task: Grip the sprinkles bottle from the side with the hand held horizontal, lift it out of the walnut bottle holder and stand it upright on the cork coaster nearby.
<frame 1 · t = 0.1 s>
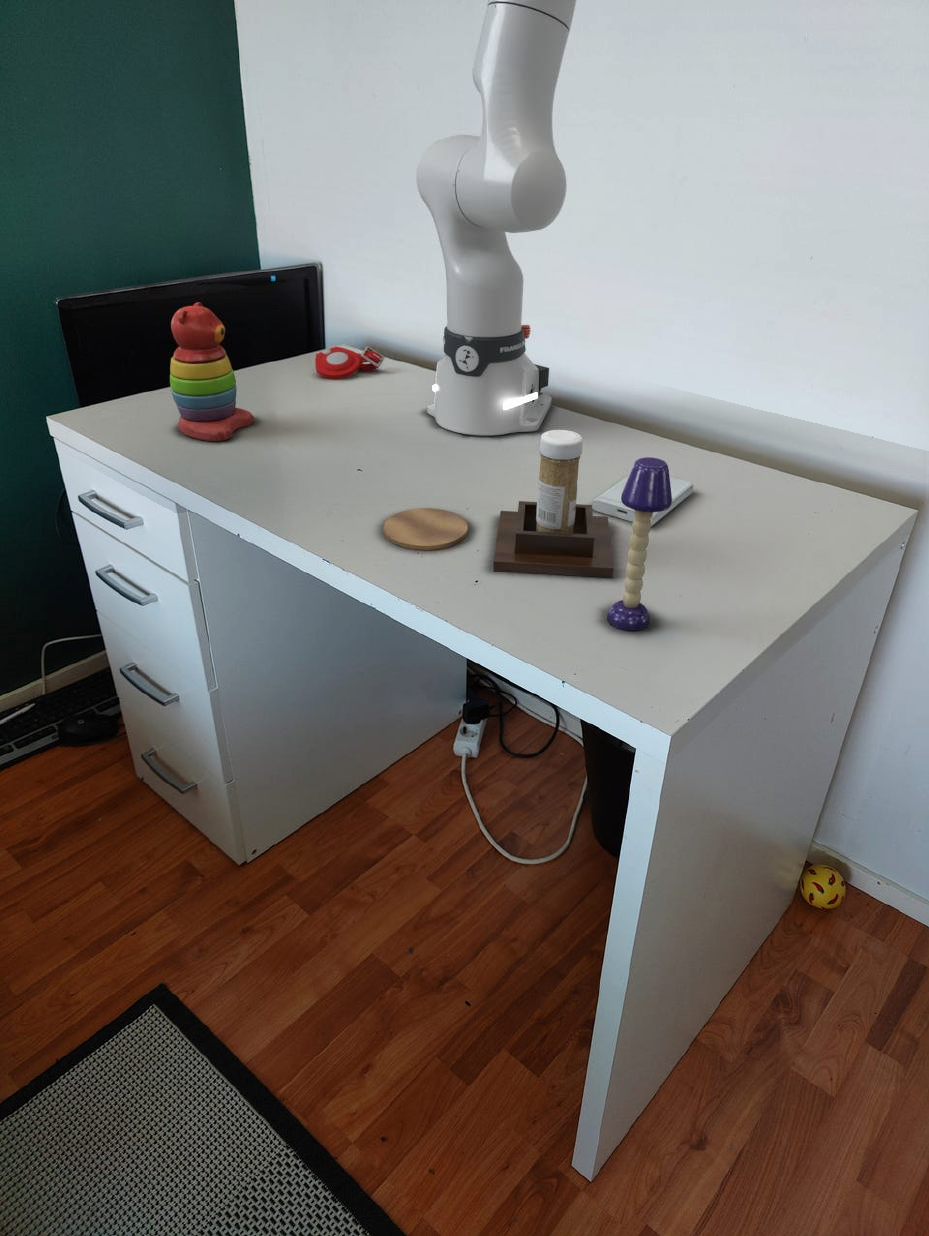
toy lamp: (629, 620, 87), on the table
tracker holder: (348, 373, 156), on the table
holder: (552, 546, 100), on the table
sprinkles bottle: (552, 548, 100), resting in holder
coaster: (425, 530, 103), on the table
hard drive: (642, 503, 111), on the table
stacking bear: (212, 428, 131), on the table
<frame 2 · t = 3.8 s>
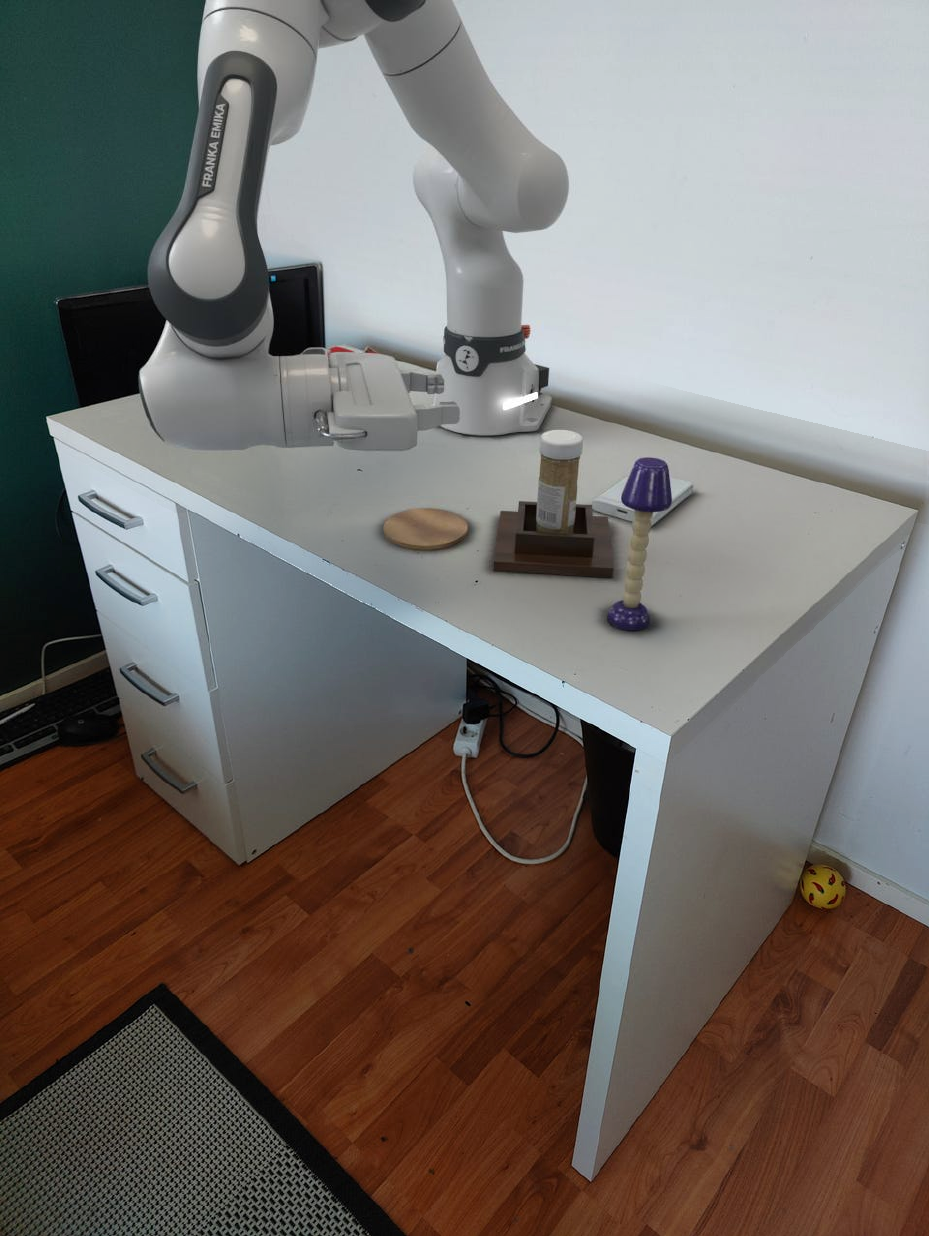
hand: (450, 397, 88), 18 cm above the table, tool horizontal, fingers open, 8 cm apart
nothing on the table moved.
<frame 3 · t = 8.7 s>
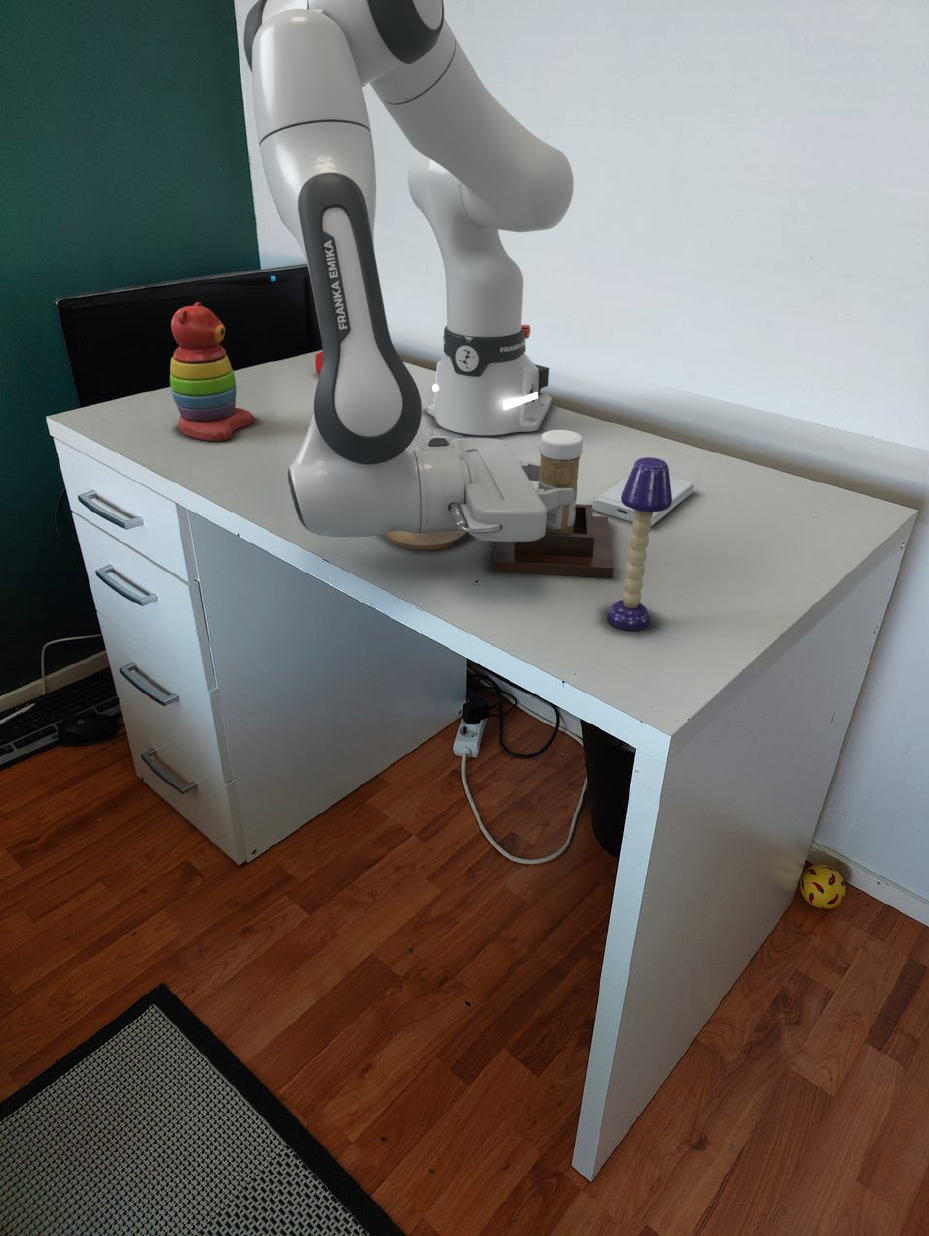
hand: (565, 483, 96), 8 cm above the table, tool horizontal, fingers closed on sprinkles bottle, 4 cm apart
sprinkles bottle: (552, 548, 100), resting in holder, touching gripper
everything else where it was.
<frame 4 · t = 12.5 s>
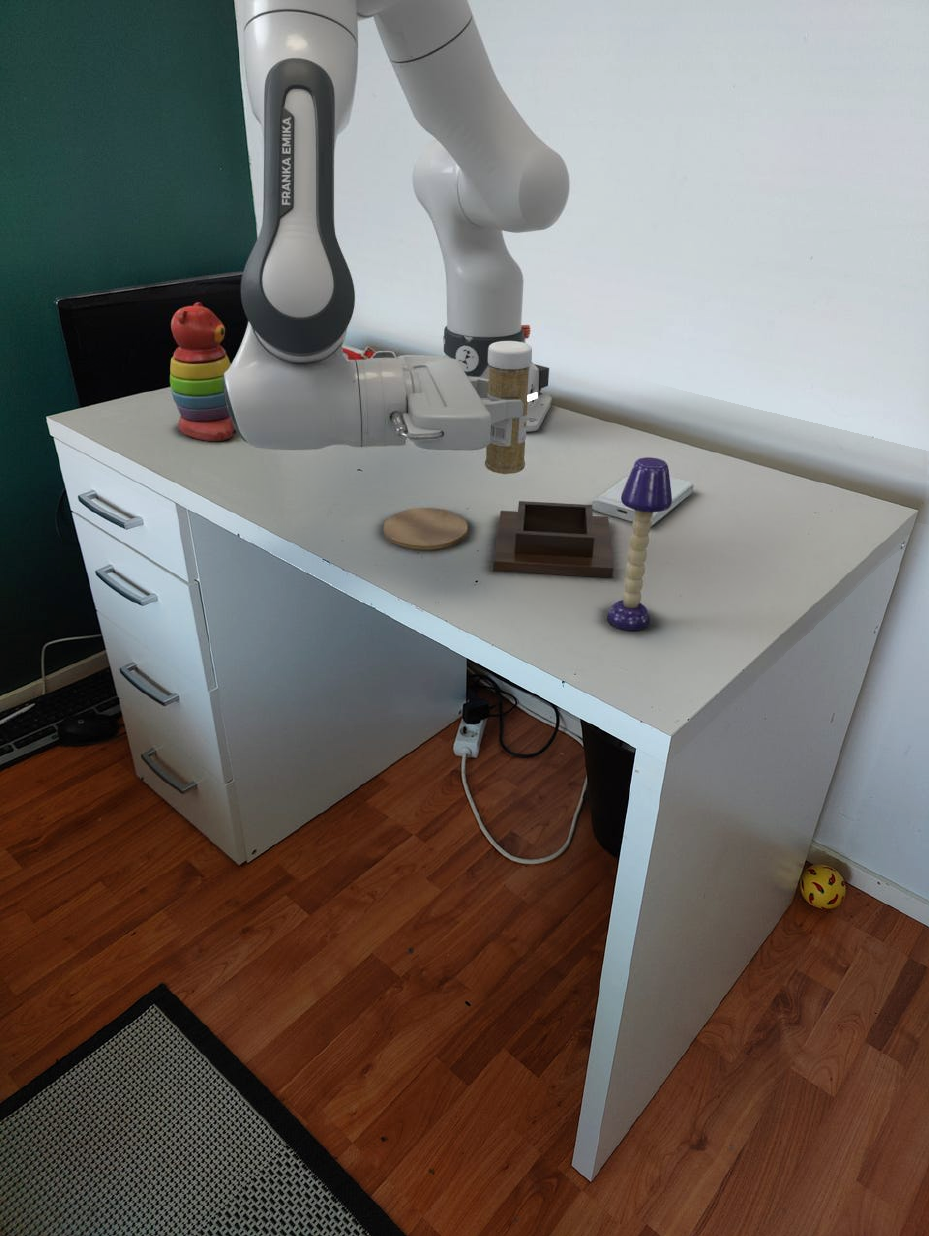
hand: (515, 398, 92), 17 cm above the table, tool horizontal, fingers closed on sprinkles bottle, 4 cm apart
sprinkles bottle: (504, 469, 96), point 9 cm above the table, touching gripper
everything else where it was.
when the fingers open (8 cm above the table, at t = 16.7 s): sprinkles bottle stays where it is, resting on coaster.
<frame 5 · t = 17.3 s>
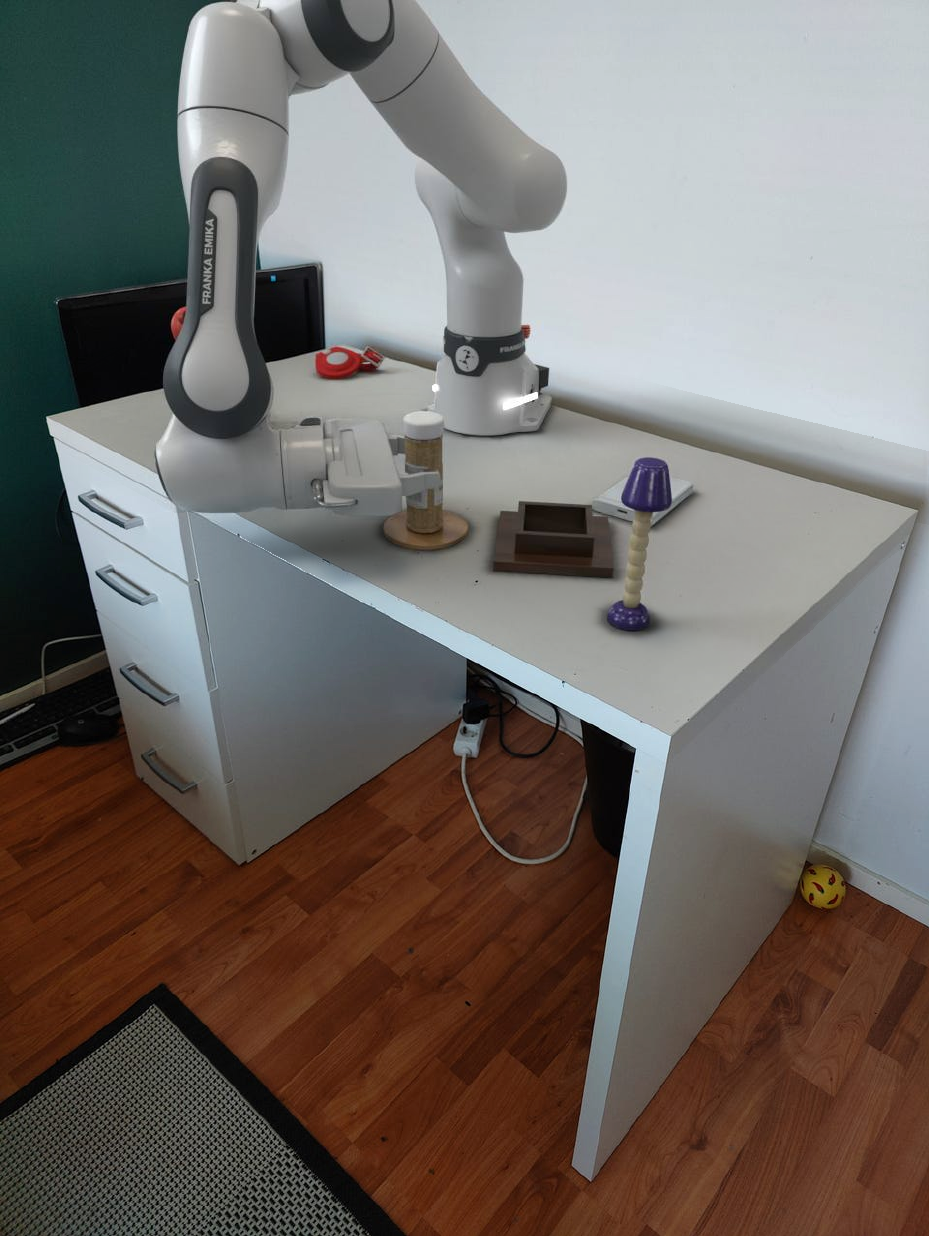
hand: (433, 461, 98), 9 cm above the table, tool horizontal, fingers open, 8 cm apart
sprinkles bottle: (424, 527, 102), resting on coaster
everything else where it was.
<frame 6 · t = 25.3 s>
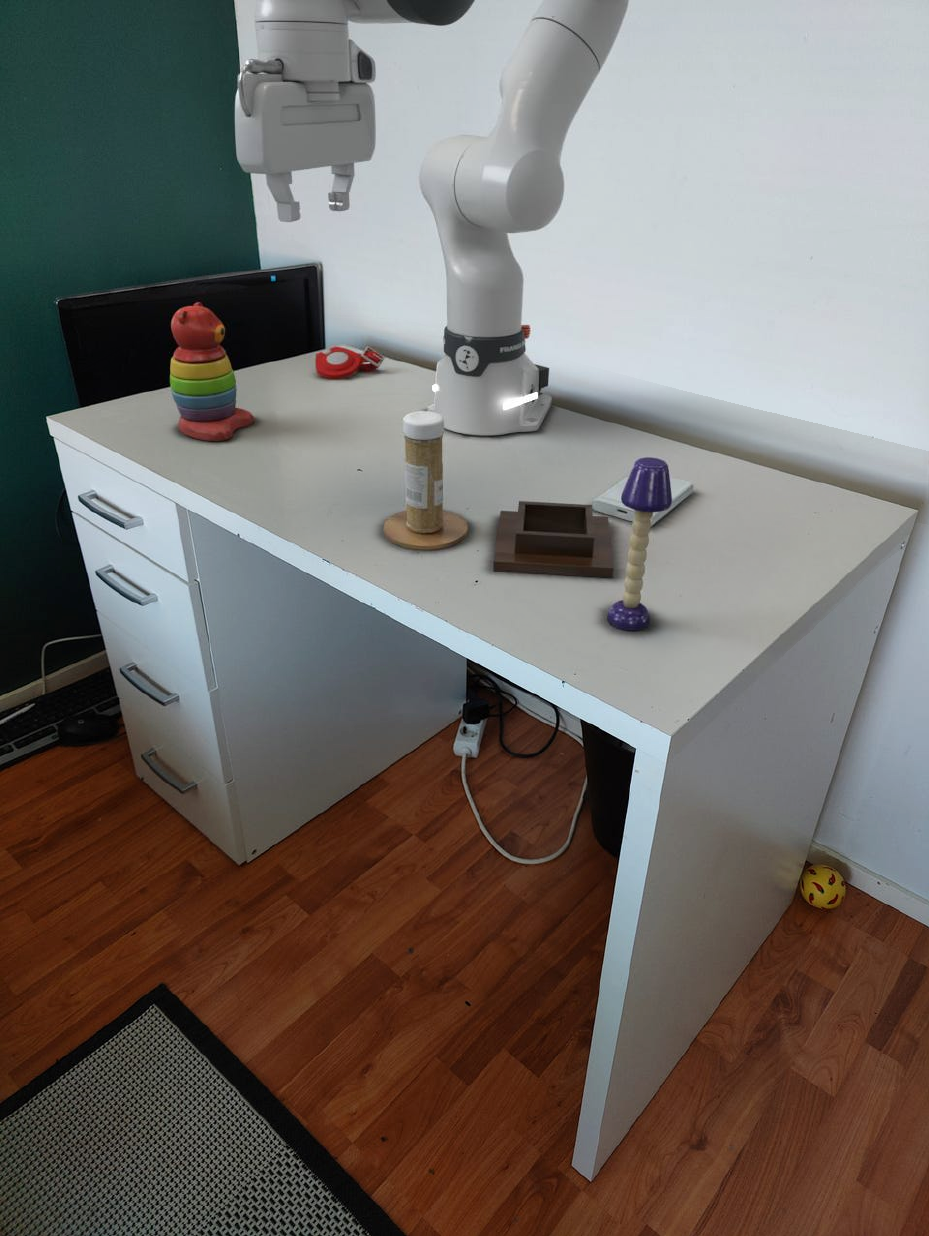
hand: (315, 215, 91), 33 cm above the table, tool pointing down, fingers open, 8 cm apart
nothing on the table moved.
at the end: sprinkles bottle 0.2 cm off-centre on the coaster, point 0.4 cm above the coaster's base; sprinkles bottle tilted 0°; the gripper is holding nothing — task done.
